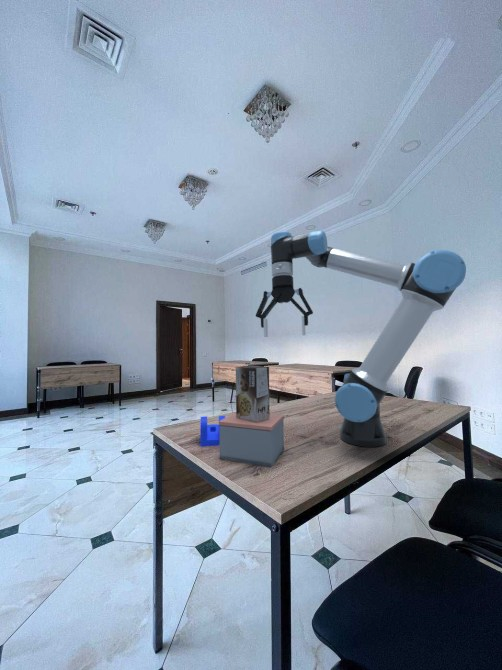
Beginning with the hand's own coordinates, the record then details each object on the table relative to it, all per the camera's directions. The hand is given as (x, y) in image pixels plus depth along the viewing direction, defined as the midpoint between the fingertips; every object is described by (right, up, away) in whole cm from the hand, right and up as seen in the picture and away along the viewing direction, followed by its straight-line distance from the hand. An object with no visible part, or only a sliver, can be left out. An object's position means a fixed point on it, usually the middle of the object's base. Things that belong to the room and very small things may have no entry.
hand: (284, 336), depth 98 cm
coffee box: (-11, -26, -12) cm, 31 cm away
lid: (-11, -27, -12) cm, 31 cm away
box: (-11, -37, -12) cm, 40 cm away
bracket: (-26, -38, +4) cm, 46 cm away
